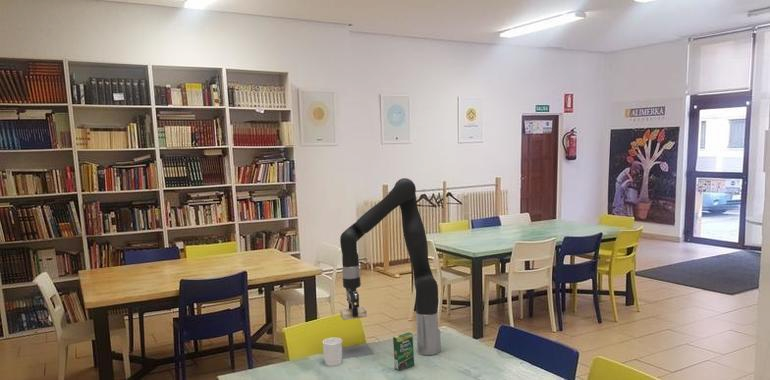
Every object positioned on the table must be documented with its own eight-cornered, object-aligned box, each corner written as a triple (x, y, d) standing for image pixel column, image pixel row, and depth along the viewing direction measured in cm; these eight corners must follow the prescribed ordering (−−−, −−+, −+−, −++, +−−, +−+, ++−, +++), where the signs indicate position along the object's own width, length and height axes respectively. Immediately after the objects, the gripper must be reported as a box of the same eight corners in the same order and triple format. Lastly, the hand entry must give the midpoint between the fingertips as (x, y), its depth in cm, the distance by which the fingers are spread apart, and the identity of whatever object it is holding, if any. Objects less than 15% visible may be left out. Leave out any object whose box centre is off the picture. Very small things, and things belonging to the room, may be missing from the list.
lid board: (362, 312, 214) (362, 307, 214) (366, 316, 207) (366, 311, 207) (340, 315, 211) (340, 310, 211) (343, 320, 205) (343, 314, 204)
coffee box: (398, 371, 190) (396, 338, 190) (394, 368, 193) (392, 336, 192) (414, 366, 194) (413, 333, 194) (410, 363, 197) (409, 331, 196)
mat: (367, 346, 218) (367, 344, 218) (374, 356, 206) (374, 353, 206) (336, 351, 214) (336, 349, 214) (342, 361, 202) (341, 359, 202)
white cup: (339, 369, 194) (338, 344, 194) (321, 368, 196) (319, 344, 196) (345, 361, 202) (344, 337, 202) (327, 360, 204) (326, 337, 203)
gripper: (364, 278, 202) (366, 317, 203) (356, 271, 216) (358, 308, 217) (346, 280, 200) (348, 320, 201) (339, 273, 214) (341, 311, 215)
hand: (353, 314), depth 209 cm, fingers closed on lid board, 6 cm apart
